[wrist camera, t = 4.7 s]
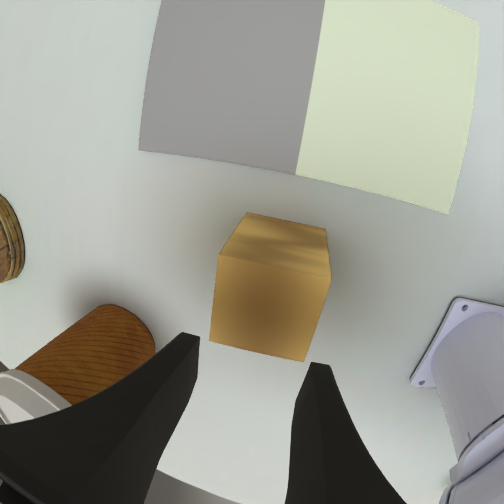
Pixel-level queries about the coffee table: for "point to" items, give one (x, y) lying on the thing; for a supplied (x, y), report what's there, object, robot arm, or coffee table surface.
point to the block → (270, 287)
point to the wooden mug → (10, 243)
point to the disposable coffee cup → (76, 364)
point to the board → (318, 90)
